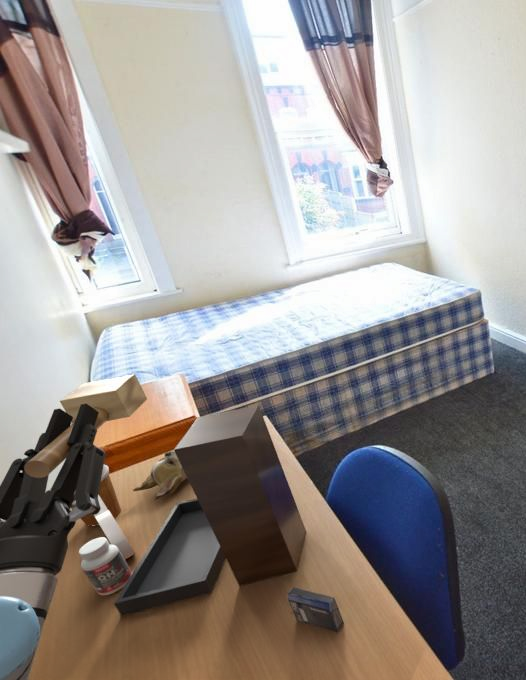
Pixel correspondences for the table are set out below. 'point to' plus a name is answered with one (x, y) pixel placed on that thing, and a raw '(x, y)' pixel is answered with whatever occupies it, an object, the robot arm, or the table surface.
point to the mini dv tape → (315, 609)
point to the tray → (175, 562)
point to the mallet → (111, 403)
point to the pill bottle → (104, 566)
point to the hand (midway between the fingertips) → (76, 411)
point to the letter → (113, 530)
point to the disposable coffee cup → (104, 498)
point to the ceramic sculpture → (164, 475)
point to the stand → (243, 493)
